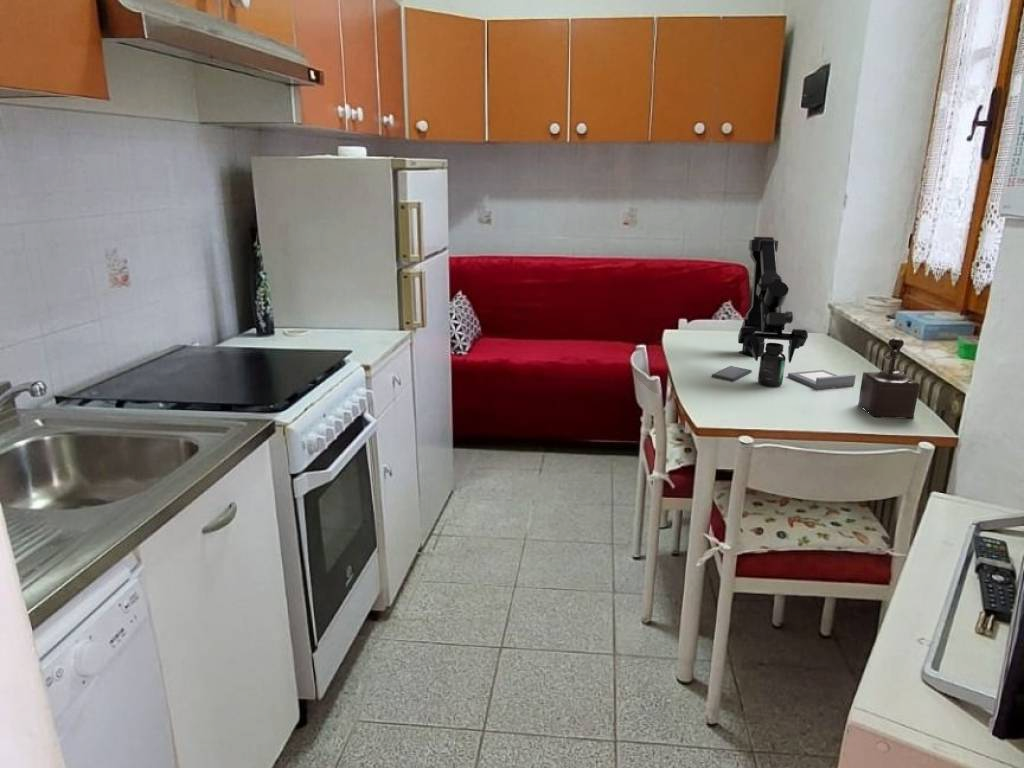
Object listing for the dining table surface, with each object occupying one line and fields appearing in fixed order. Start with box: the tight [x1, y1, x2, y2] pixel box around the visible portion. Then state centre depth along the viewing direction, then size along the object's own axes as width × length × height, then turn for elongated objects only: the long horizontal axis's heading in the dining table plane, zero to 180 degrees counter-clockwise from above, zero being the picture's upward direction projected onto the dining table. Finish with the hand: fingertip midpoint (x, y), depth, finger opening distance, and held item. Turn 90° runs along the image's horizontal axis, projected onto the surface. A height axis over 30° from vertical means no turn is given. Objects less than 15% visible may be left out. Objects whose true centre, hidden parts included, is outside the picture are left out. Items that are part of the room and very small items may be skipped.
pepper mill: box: [858, 337, 920, 419], centre depth 185 cm, size 16×11×18 cm
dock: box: [787, 369, 857, 390], centre depth 210 cm, size 13×13×3 cm
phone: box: [711, 365, 753, 382], centre depth 216 cm, size 7×13×1 cm, turn 139°
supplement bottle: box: [757, 342, 787, 388], centre depth 205 cm, size 7×7×12 cm
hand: (773, 361), depth 204 cm, fingers open, 9 cm apart
